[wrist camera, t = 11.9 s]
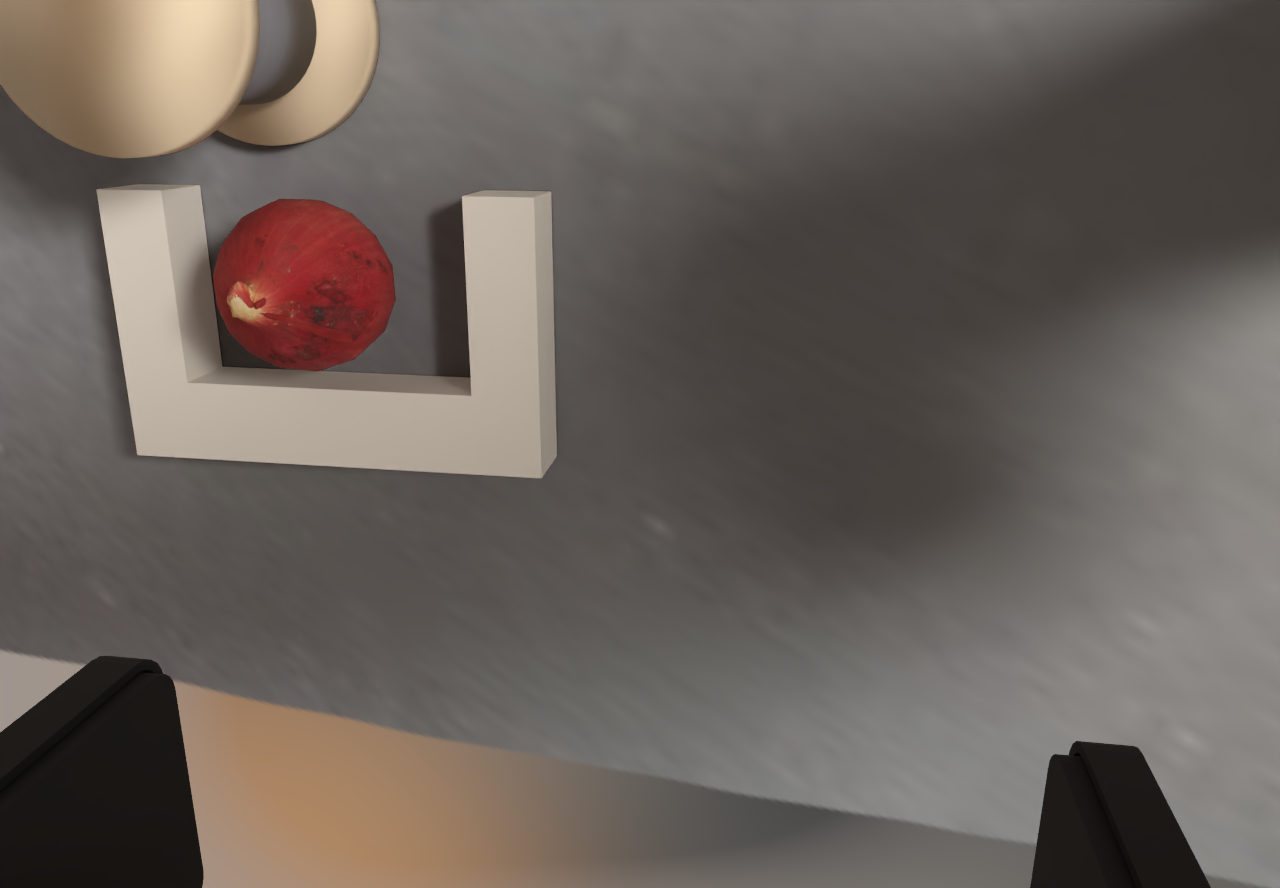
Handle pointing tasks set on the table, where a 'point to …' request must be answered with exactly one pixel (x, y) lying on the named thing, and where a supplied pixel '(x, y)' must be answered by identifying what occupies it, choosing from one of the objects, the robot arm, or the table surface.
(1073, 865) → the robot arm
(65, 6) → the spool
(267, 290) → the onion
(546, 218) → the notch board
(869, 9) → the table surface
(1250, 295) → the table surface
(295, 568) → the table surface
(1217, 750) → the table surface
